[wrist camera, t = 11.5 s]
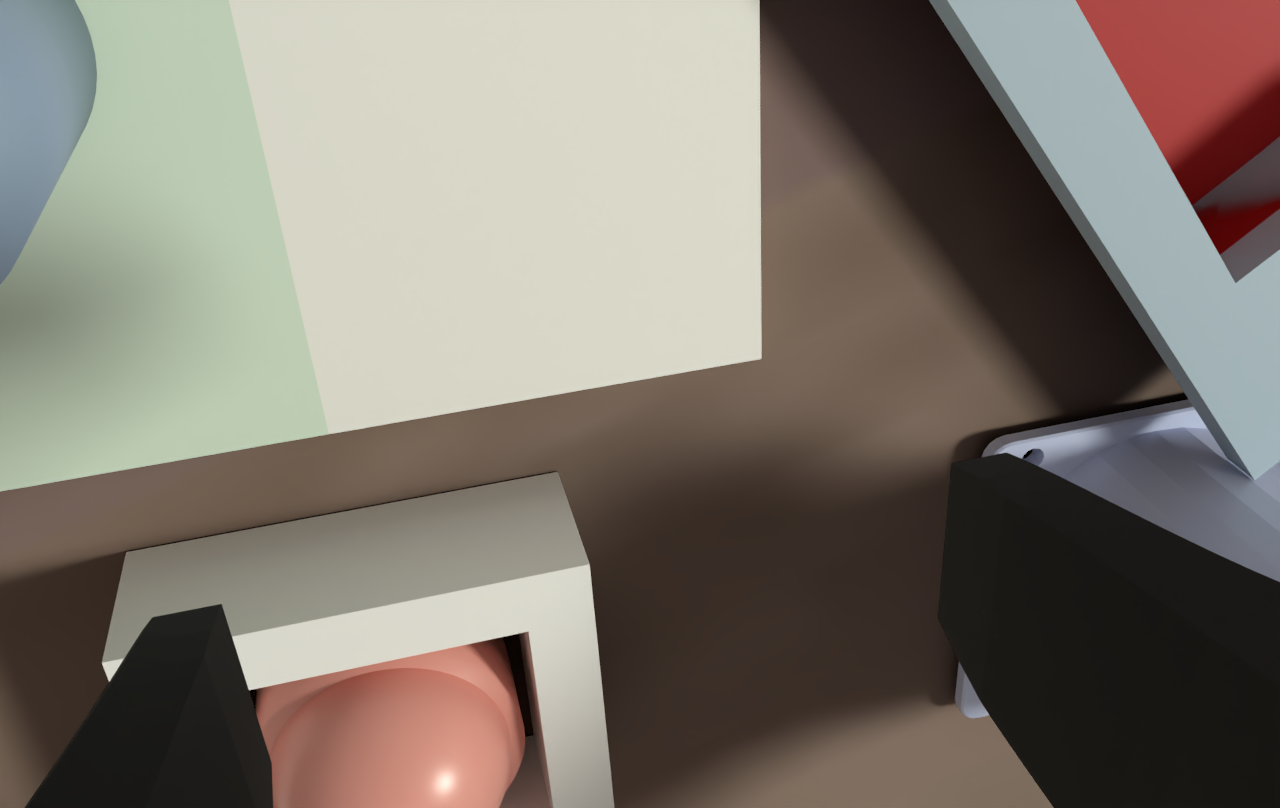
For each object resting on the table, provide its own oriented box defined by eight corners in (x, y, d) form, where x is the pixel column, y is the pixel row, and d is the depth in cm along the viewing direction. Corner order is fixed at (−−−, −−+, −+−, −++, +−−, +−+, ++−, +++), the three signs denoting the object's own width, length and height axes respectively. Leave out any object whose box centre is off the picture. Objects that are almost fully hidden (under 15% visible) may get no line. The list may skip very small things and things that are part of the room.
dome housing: (557, 471, 23) (589, 564, 20) (590, 760, 27) (620, 867, 24) (126, 551, 21) (102, 662, 19) (230, 844, 25) (222, 968, 23)
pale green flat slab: (743, -605, 15) (756, -615, 15) (752, 347, 22) (761, 358, 22) (-706, -580, 12) (-740, -591, 12) (-159, 503, 19) (-171, 521, 19)
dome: (492, 557, 23) (529, 716, 19) (520, 737, 25) (557, 909, 22) (230, 608, 22) (214, 786, 18) (286, 791, 24) (282, 980, 21)
